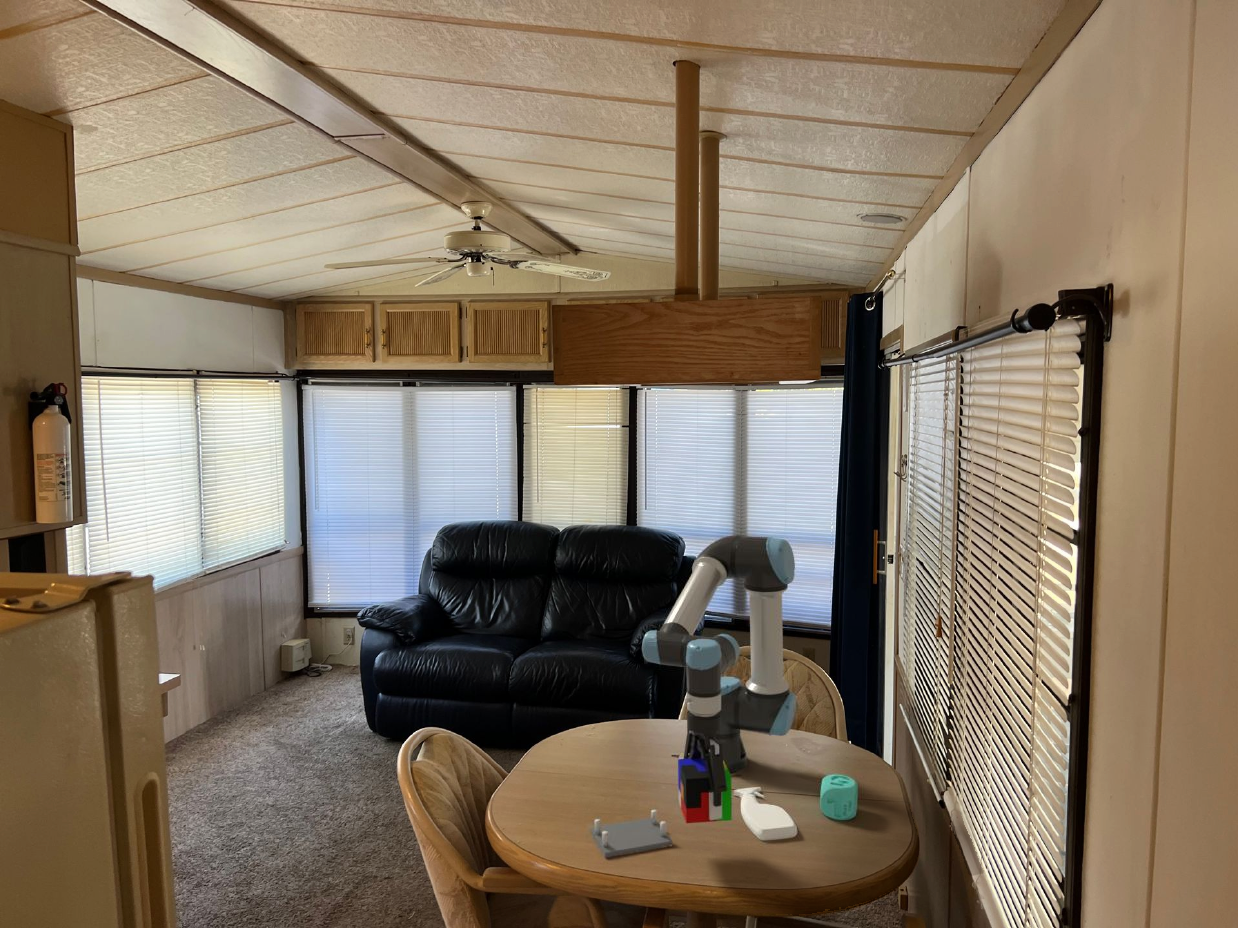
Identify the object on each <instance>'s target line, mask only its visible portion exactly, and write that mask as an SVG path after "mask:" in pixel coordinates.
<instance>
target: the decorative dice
mask: <svg viewBox="0 0 1238 928" xmlns="http://www.w3.org/2000/svg"><path fill="white" fill-rule="evenodd" d="M858 787H859V786H858V783H857V782H856V781H855V779H854V778H852V777H850V776H848V775H843V774H838V773H836V774H834V773H833V774H828V775H826V776H824V777H823V778H822V780H821V786H820V797H819V800H820V801H819V805H820V806H819V807H820V811H821V812H822V813H823V815H825V816H826V817H827V818H829V819H832V820H837V821H848V820H852V819H853V818H855V817H856V816H857V815H856V814H857V811H858V796H859V795H858V794H859V791H858V789H859V788H858Z"/></svg>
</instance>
